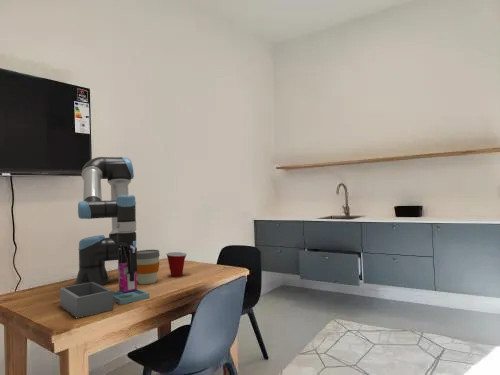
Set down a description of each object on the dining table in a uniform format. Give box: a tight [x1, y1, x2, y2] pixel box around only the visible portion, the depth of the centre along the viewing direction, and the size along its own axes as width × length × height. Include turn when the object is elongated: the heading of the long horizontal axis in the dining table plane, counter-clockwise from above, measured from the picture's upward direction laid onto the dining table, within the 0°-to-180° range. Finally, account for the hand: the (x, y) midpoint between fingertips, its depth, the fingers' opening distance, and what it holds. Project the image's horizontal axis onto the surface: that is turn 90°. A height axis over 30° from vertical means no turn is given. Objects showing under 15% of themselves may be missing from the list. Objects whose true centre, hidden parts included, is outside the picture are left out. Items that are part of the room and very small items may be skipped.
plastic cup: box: [165, 251, 187, 278], centre depth 179 cm, size 11×11×12 cm
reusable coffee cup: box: [136, 249, 161, 285], centre depth 168 cm, size 12×13×15 cm
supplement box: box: [117, 263, 138, 293], centre depth 140 cm, size 6×6×12 cm
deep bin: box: [59, 282, 114, 319], centre depth 129 cm, size 21×12×7 cm, turn 43°
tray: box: [113, 287, 150, 306], centre depth 140 cm, size 14×12×2 cm
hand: (127, 287), depth 140 cm, fingers closed on supplement box, 6 cm apart
